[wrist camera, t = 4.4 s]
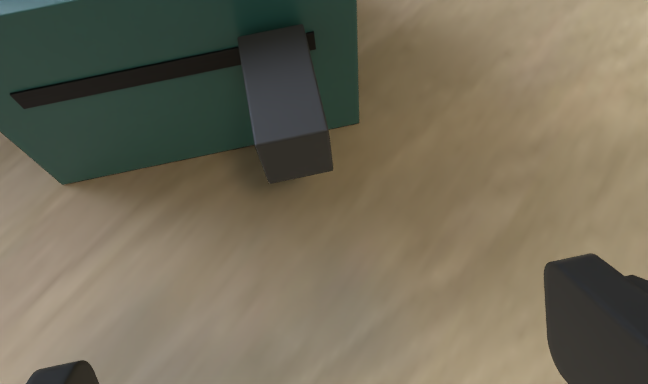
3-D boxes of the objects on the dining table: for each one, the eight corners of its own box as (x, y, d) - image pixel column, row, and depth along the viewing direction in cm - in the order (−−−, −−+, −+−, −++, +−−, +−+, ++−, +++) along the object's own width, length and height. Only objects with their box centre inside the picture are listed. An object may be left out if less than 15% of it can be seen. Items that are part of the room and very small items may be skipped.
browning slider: (333, 171, 21) (328, 130, 18) (268, 184, 21) (254, 145, 18) (310, 72, 23) (303, 22, 20) (251, 84, 23) (236, 36, 20)
